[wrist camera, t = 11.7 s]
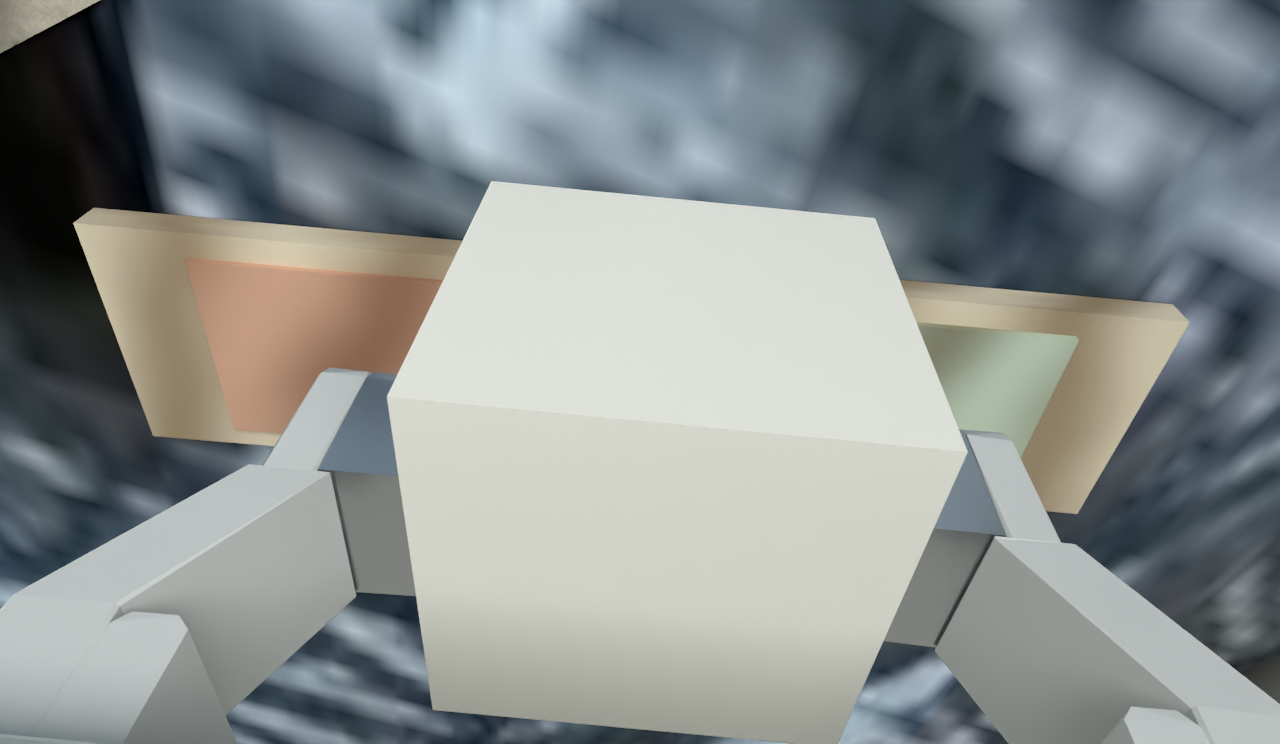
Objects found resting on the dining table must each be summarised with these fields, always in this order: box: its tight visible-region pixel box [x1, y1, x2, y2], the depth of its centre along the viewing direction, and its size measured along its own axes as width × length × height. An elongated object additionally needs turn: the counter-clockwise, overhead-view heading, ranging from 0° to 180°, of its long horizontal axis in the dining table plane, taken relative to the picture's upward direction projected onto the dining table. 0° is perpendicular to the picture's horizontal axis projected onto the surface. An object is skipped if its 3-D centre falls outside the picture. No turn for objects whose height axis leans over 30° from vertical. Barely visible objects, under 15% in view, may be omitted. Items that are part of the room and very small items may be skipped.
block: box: [387, 181, 968, 744], centre depth 9 cm, size 4×4×4 cm
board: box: [73, 208, 1190, 514], centre depth 26 cm, size 32×8×1 cm, turn 85°
